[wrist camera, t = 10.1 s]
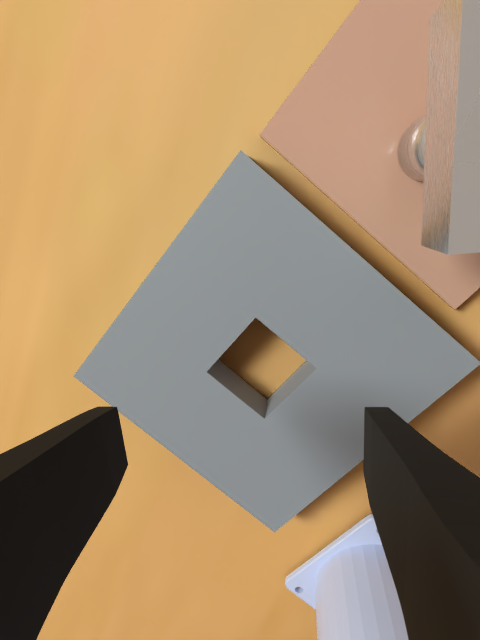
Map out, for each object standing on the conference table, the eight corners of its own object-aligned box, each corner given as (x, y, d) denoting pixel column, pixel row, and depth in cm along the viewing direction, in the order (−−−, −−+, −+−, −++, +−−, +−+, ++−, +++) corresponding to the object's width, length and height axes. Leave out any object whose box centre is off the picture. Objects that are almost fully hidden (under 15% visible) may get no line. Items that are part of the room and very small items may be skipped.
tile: (604, 167, 16) (615, 166, 15) (449, 306, 18) (454, 309, 18) (393, -41, 15) (397, -51, 14) (260, 137, 17) (259, 134, 17)
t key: (457, 231, 17) (543, 247, 11) (396, 236, 17) (448, 254, 11) (469, 47, 15) (581, -49, 9) (399, 57, 15) (464, -27, 9)
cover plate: (462, 346, 19) (481, 363, 17) (276, 505, 23) (274, 532, 21) (246, 155, 18) (240, 150, 16) (92, 361, 22) (73, 376, 20)
